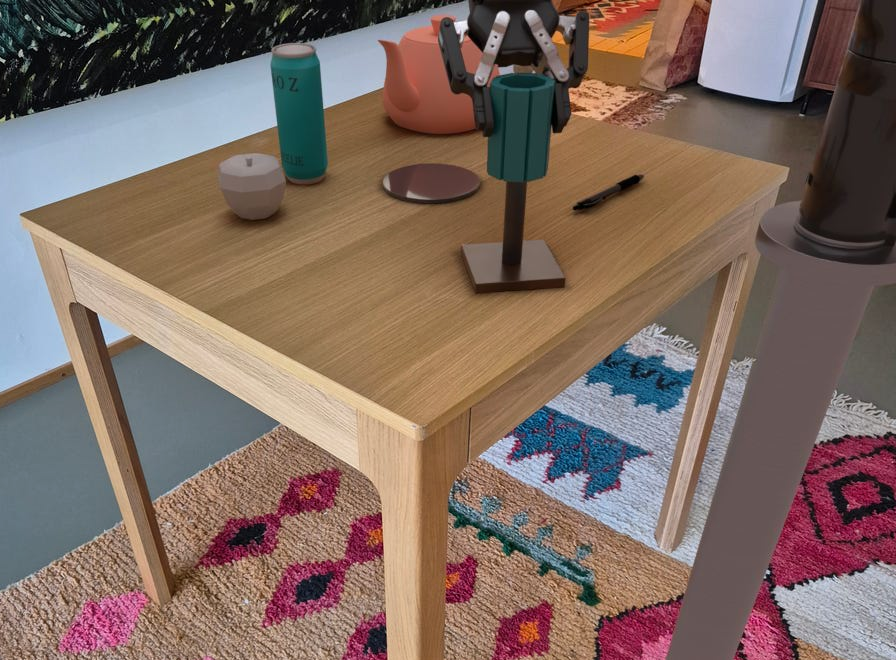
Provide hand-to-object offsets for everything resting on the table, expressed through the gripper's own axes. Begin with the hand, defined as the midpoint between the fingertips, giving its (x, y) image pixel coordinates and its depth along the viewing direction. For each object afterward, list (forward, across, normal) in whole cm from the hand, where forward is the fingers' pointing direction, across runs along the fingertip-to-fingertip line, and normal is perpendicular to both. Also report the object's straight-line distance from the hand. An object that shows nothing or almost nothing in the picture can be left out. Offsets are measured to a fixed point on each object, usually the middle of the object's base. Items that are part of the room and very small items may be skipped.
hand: (524, 130), depth 75 cm
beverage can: (-11, -20, +32) cm, 39 cm away
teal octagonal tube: (+2, 0, +4) cm, 5 cm away
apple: (-4, -26, +24) cm, 36 cm away
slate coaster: (-8, -5, +28) cm, 30 cm away
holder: (+9, 0, +11) cm, 14 cm away
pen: (-3, +16, +23) cm, 28 cm away
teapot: (-26, -1, +46) cm, 53 cm away
